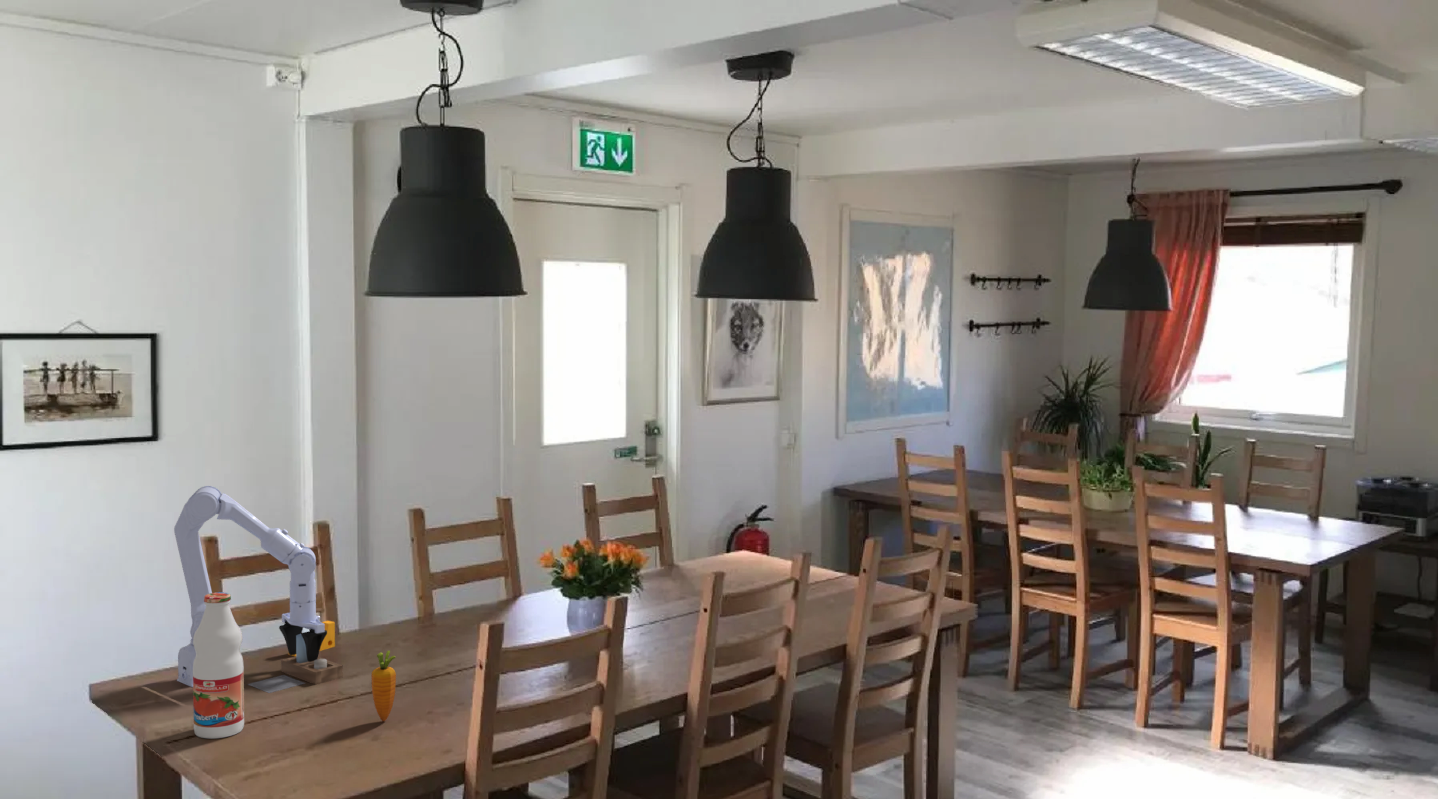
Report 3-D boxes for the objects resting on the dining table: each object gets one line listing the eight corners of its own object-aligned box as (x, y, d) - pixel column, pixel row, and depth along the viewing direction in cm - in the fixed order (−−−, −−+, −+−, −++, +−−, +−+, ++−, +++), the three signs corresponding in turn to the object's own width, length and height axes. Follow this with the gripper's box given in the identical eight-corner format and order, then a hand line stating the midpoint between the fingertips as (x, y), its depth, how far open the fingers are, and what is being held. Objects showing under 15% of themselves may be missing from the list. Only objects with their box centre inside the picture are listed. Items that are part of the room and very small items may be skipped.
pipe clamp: (323, 644, 298) (323, 619, 298) (334, 647, 296) (334, 622, 296) (283, 655, 288) (283, 630, 288) (295, 658, 286) (295, 632, 285)
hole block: (315, 686, 266) (315, 667, 265) (281, 673, 274) (281, 654, 274) (342, 678, 271) (342, 660, 271) (308, 666, 280) (308, 648, 279)
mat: (269, 694, 259) (269, 692, 259) (247, 685, 265) (247, 684, 265) (305, 684, 266) (305, 683, 266) (283, 676, 272) (283, 674, 272)
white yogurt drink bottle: (252, 724, 241) (251, 590, 239) (229, 740, 232) (228, 601, 230) (209, 721, 242) (207, 588, 240) (184, 738, 233) (182, 599, 230)
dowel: (301, 675, 273) (301, 638, 272) (293, 673, 274) (293, 635, 274) (312, 672, 275) (312, 635, 274) (305, 670, 277) (304, 632, 276)
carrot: (386, 715, 248) (386, 646, 247) (401, 721, 245) (400, 650, 243) (366, 721, 244) (366, 651, 243) (380, 727, 241) (380, 656, 240)
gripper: (336, 602, 272) (336, 659, 273) (300, 592, 281) (301, 647, 282) (308, 608, 266) (309, 666, 268) (273, 597, 275) (274, 654, 276)
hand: (303, 657), depth 274 cm, fingers open, 7 cm apart
